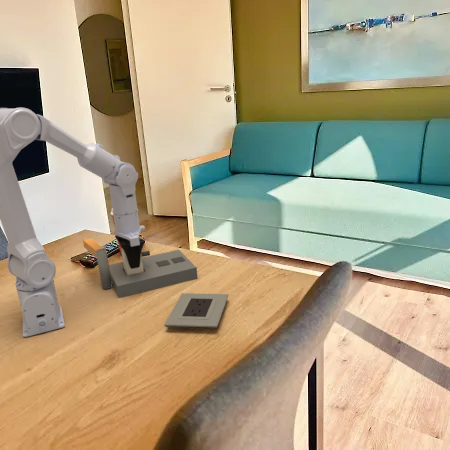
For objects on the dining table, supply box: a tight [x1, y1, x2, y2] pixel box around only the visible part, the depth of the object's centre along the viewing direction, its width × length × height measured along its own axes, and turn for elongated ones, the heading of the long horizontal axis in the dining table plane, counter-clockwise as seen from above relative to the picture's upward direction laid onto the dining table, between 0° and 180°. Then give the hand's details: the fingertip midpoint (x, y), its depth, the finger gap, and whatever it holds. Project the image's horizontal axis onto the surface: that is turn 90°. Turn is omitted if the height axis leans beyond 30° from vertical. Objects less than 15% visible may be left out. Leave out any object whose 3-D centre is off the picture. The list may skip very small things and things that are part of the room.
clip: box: [82, 237, 113, 290], centre depth 109 cm, size 12×2×10 cm, turn 34°
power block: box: [109, 249, 199, 299], centre depth 111 cm, size 14×20×3 cm
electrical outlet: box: [163, 292, 229, 330], centre depth 91 cm, size 13×10×2 cm
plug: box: [121, 248, 151, 276], centre depth 108 cm, size 4×6×8 cm, turn 114°
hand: (133, 264), depth 108 cm, fingers closed on plug, 4 cm apart
